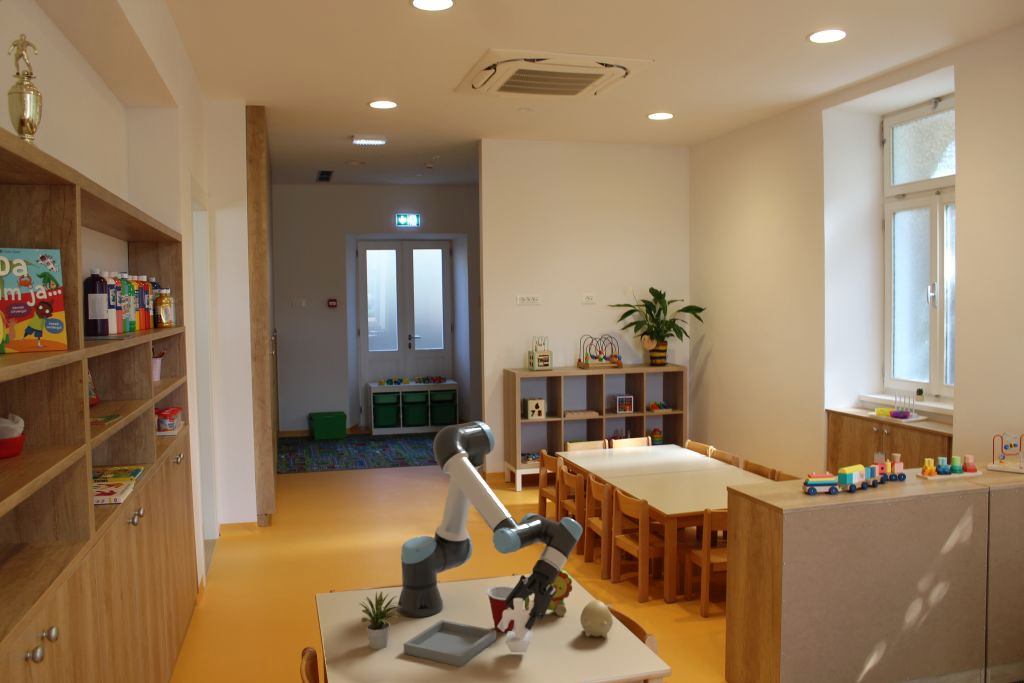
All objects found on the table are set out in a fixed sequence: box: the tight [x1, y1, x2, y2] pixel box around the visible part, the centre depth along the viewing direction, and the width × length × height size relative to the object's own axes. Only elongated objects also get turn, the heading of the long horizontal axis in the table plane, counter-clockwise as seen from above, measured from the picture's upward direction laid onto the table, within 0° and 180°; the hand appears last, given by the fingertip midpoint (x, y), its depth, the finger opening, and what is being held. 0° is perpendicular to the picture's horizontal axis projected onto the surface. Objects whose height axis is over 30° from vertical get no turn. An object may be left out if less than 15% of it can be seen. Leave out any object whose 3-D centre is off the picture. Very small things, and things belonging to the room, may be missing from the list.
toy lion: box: [523, 568, 573, 617], centre depth 267 cm, size 16×5×15 cm, turn 92°
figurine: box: [502, 598, 534, 654], centre depth 236 cm, size 7×9×15 cm
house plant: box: [359, 591, 399, 650], centre depth 244 cm, size 14×14×16 cm
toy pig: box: [579, 599, 614, 639], centre depth 249 cm, size 10×12×11 cm
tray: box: [403, 619, 497, 668], centre depth 243 cm, size 20×20×3 cm
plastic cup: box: [486, 585, 515, 633], centre depth 256 cm, size 11×11×12 cm
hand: (509, 633), depth 234 cm, fingers closed on figurine, 7 cm apart
